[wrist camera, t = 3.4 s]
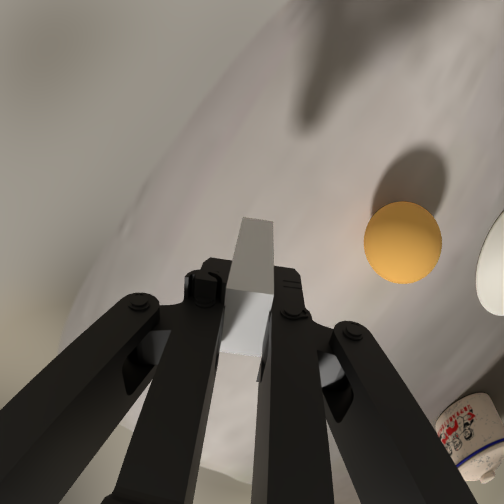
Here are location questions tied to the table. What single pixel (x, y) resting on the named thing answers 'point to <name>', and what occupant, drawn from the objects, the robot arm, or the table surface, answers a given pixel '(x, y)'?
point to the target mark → (492, 270)
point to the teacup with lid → (473, 436)
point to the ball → (402, 242)
